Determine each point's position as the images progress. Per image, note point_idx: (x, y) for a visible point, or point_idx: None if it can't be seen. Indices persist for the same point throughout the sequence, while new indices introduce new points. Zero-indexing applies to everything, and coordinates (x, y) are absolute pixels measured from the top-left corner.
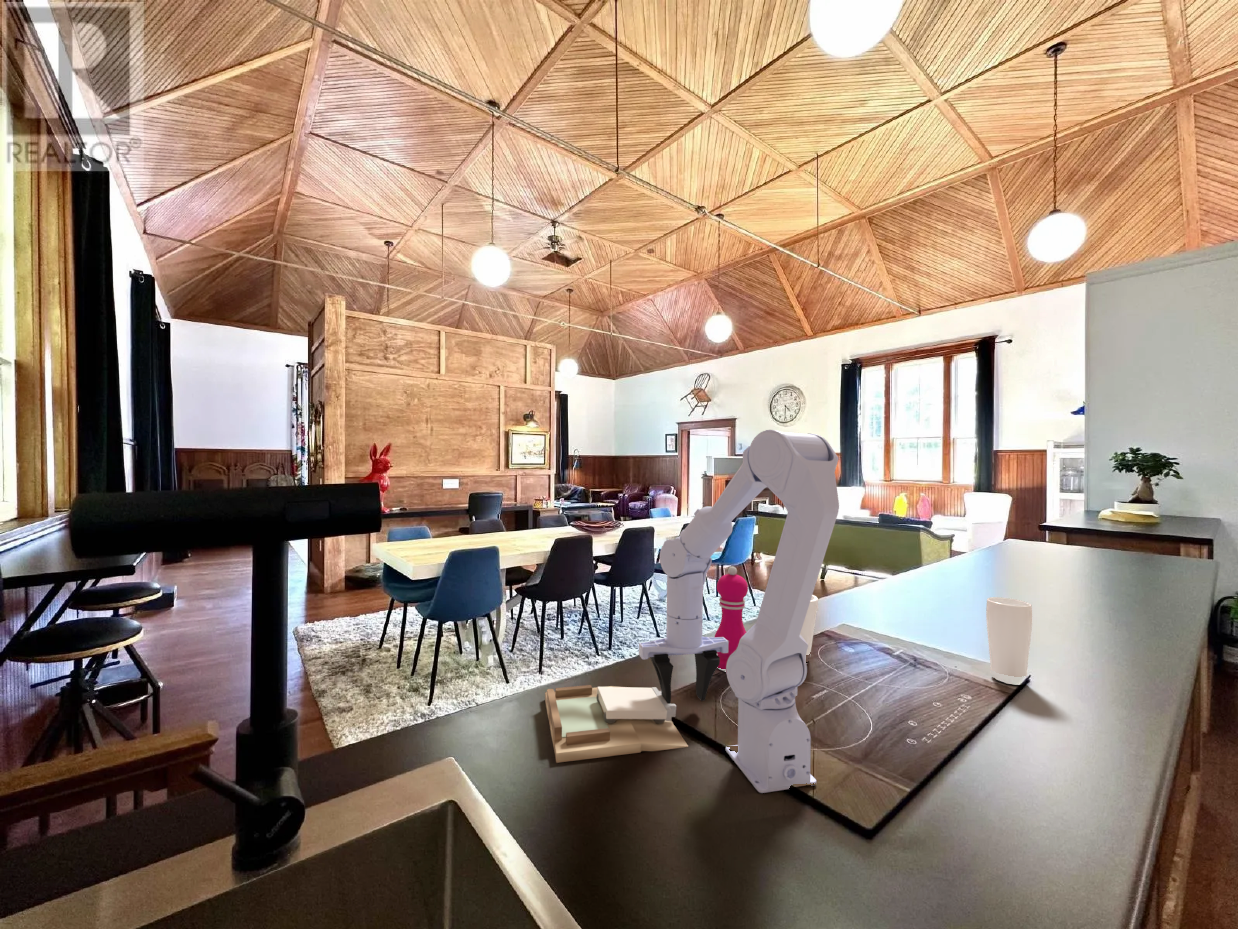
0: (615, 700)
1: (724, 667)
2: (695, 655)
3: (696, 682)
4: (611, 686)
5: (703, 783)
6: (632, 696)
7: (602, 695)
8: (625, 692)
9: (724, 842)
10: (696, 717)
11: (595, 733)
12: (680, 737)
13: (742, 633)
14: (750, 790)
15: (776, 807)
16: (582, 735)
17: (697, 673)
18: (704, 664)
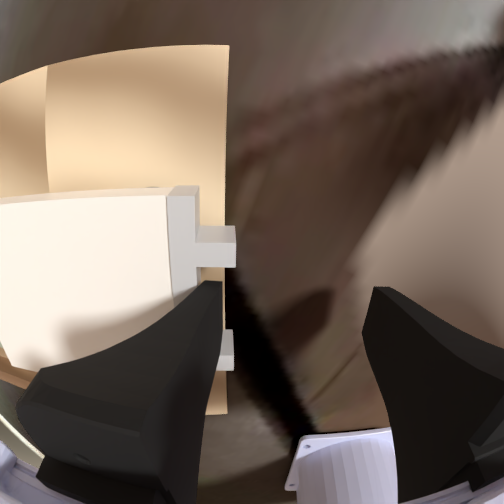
0: (15, 318)
1: None
2: (482, 387)
3: (398, 310)
4: (42, 70)
5: (215, 466)
6: (63, 293)
7: None
8: (38, 256)
9: (204, 500)
10: (324, 312)
11: (19, 386)
12: (220, 390)
13: None
14: (278, 480)
15: (290, 492)
16: (2, 379)
17: (419, 346)
18: (408, 479)
